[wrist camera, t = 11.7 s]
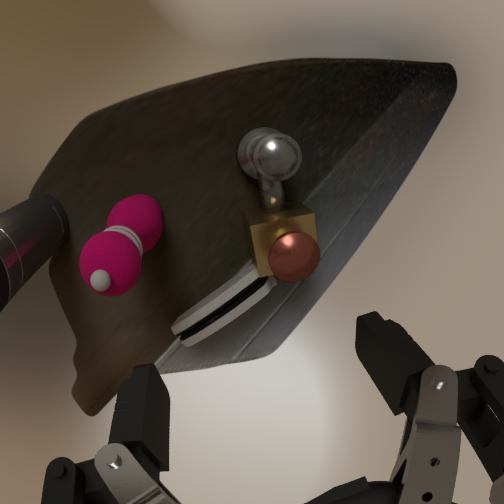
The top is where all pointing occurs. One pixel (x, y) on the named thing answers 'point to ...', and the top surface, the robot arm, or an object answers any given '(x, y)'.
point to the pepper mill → (121, 246)
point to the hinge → (222, 306)
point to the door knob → (273, 155)
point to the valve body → (278, 226)
